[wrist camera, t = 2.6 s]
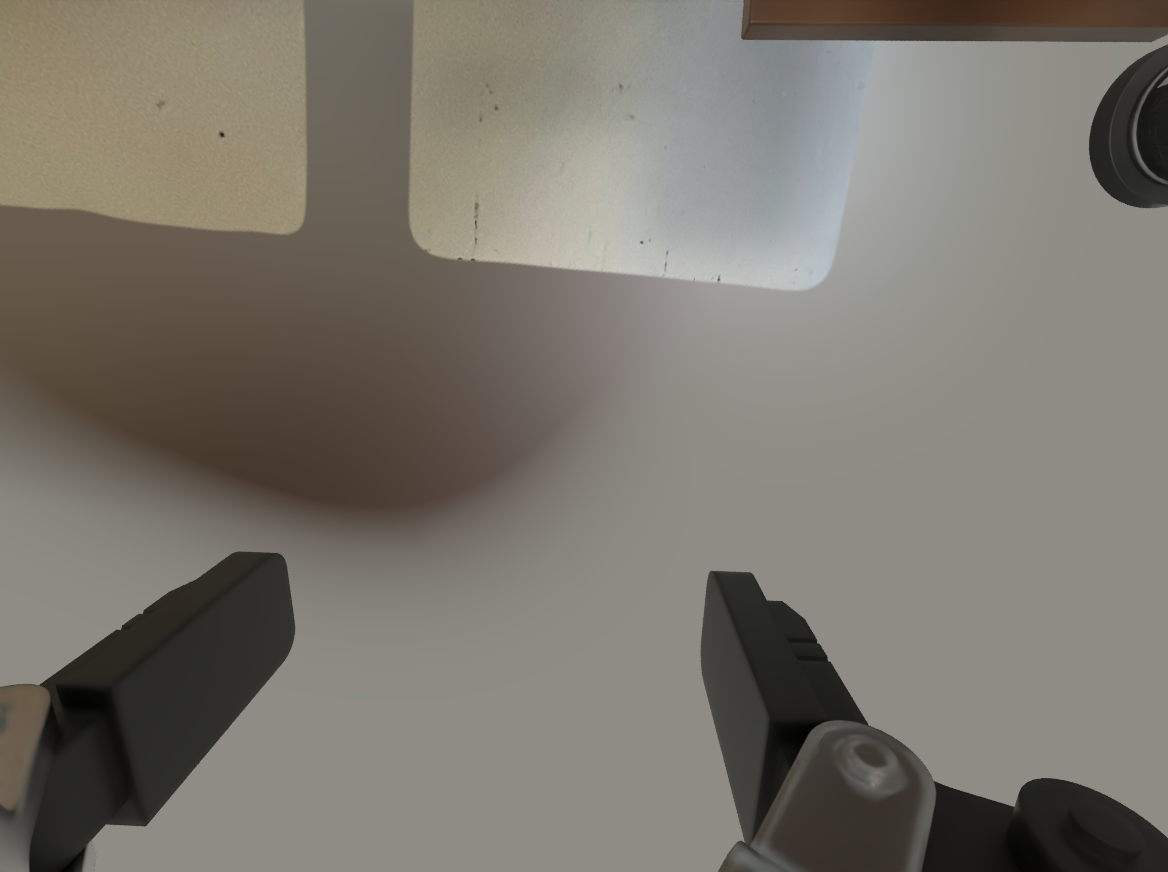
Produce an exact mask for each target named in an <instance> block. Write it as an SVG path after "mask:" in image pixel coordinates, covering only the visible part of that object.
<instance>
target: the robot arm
mask: <svg viewBox="0 0 1168 872" xmlns="http://www.w3.org/2000/svg"><path fill="white" fill-rule="evenodd" d="M1127 140H1128V148H1129V153H1130V156H1131V158H1132V161H1133V163H1134V165H1135V166H1136V168H1137V169H1138V170H1139V172H1140V173H1141V174H1142V175H1143V176H1145V177H1146V178H1147V179H1149V180H1150V181H1152V182H1154V183H1156V184H1159V185H1163V186H1168V65H1167V66H1166V67H1165V68H1163V69H1162V70H1161V71H1160V72H1158V73H1157V74H1156V75H1155V76H1154V77H1153V78H1152V79H1151V80H1150V82H1149V83H1148V84H1147V85H1146V87H1145V88H1144V89H1143V91H1142V92H1141V94H1140V96H1139V97H1138V99H1137V101H1136V103H1135V105H1134V108H1133V110H1132V113H1131V116H1130V120H1129V124H1128V134H1127ZM702 629H703V630H702V638H701V667H702V675H703V680H704V684H705V689H706V692H707V696H708V700H709V704H710V708H711V712H712V716H713V720H714V724H715V728H716V732H717V735H718V739H719V743H720V747H721V751H722V755H723V758H724V763H725V767H726V770H727V774H728V778H729V782H730V786H731V790H732V794H733V798H734V802H735V805H736V809H737V813H738V817H739V821H740V825H741V829H742V832H743V837H744V841H745V843H744V842H742V841H739V842H737V843H736V844H735V845H734V846H733V848H732V849H731V850H730V852H729V854H728V855H727V857H726V858H725V860H724V862H723V864H722V865H721V867H720V869H719V871H718V872H1168V838H1167V837H1166V836H1165V835H1164V834H1163V833H1161V832H1160V831H1159V830H1158V829H1157V828H1155V827H1154V826H1153V825H1152V824H1151V823H1149V822H1148V821H1147V820H1145V819H1144V818H1143V817H1141V816H1139V815H1138V814H1137V813H1135V812H1134V811H1132V810H1131V809H1129V808H1128V807H1126V806H1124V805H1123V804H1121V803H1119V802H1118V801H1116V800H1114V799H1112V798H1110V797H1108V796H1106V795H1104V794H1102V793H1100V792H1097V791H1095V790H1093V789H1090V788H1088V787H1085V786H1082V785H1079V784H1076V783H1073V782H1069V781H1065V780H1059V779H1052V778H1041V779H1035V780H1032V781H1029V782H1027V783H1026V784H1025V785H1024V786H1023V787H1022V788H1021V790H1020V792H1019V795H1018V798H1017V801H1016V804H1015V807H1013V806H1009V805H1006V804H1003V803H999V802H996V801H992V800H990V799H986V798H983V797H980V796H976V795H973V794H970V793H966V792H963V791H960V790H956V789H953V788H950V787H947V786H945V785H942V784H940V783H937V782H935V781H933V779H932V776H931V774H930V773H929V771H928V769H927V768H926V766H925V765H924V764H923V762H922V761H921V760H920V759H919V758H918V757H917V756H916V755H915V754H914V753H913V752H912V751H911V750H910V749H909V748H908V747H906V746H905V745H904V744H902V743H901V742H900V741H898V740H897V739H895V738H894V737H892V736H890V735H888V734H887V733H885V732H883V731H881V730H879V729H876V728H874V727H871V726H869V725H868V723H867V722H866V720H865V718H864V717H863V715H862V713H861V712H860V710H859V708H858V707H857V705H856V703H855V702H854V700H853V698H852V697H851V695H850V693H849V692H848V690H847V689H846V687H845V685H844V684H843V682H842V680H841V679H840V677H839V676H838V674H837V672H836V670H835V669H834V667H833V665H832V664H831V662H828V659H827V658H828V657H827V655H826V654H825V652H824V650H823V649H822V647H821V645H820V644H817V639H816V637H815V635H814V634H813V632H812V631H811V629H810V627H809V626H808V624H807V622H806V621H805V619H804V618H803V617H801V616H800V615H799V614H798V613H796V612H795V611H794V610H793V609H791V608H790V607H789V606H788V605H786V604H785V603H784V602H783V601H767V600H766V598H765V596H764V594H763V592H762V590H761V588H760V587H759V585H758V583H757V581H756V579H755V577H754V575H753V574H752V573H750V572H725V571H710V573H709V575H708V580H707V588H706V598H705V608H704V618H703V628H702ZM294 635H295V623H294V614H293V607H292V600H291V593H290V585H289V578H288V572H287V565H286V562H285V559H284V557H283V556H282V555H280V554H278V553H262V552H261V553H260V552H235V553H232V554H231V555H230V556H228V557H226V558H225V559H224V560H222V561H221V562H220V563H218V564H217V565H216V566H214V567H213V568H211V569H210V570H209V571H207V572H206V573H205V574H203V575H202V576H201V577H199V578H198V579H197V580H194V581H192V582H190V583H188V584H186V585H183V586H181V587H179V588H177V589H175V590H172V591H170V592H168V593H167V594H166V595H164V596H163V597H161V598H160V599H159V600H157V601H156V602H155V603H153V604H152V605H150V606H149V607H148V608H146V609H145V610H144V612H143V614H138V615H136V616H135V617H134V618H132V619H131V620H129V621H128V622H127V623H125V624H124V625H122V629H121V630H116V631H114V632H113V633H111V634H110V635H108V636H107V637H106V638H104V639H103V640H102V641H100V642H99V643H97V644H96V645H95V646H93V647H92V648H90V649H89V650H88V651H86V652H85V653H83V654H82V655H81V656H79V657H78V658H76V659H75V660H74V661H72V662H71V663H69V664H68V665H67V666H65V667H64V668H62V669H61V670H60V671H58V672H57V673H56V674H54V675H53V676H51V677H50V678H48V679H47V680H46V681H44V682H43V683H41V684H40V685H34V684H17V685H10V686H4V687H0V872H94V870H95V862H96V852H95V848H94V845H93V841H92V839H93V838H94V837H95V835H96V834H97V833H98V832H99V831H100V830H101V829H102V828H103V827H104V826H105V825H106V824H110V825H129V826H147V824H148V823H149V822H150V821H151V820H152V818H153V817H154V816H155V815H156V814H157V812H158V811H159V810H160V809H161V808H162V806H163V805H164V804H165V803H166V802H167V800H168V799H169V798H170V797H171V795H172V794H173V793H174V792H175V791H176V790H177V788H178V787H179V786H180V785H181V784H182V783H183V781H184V780H185V779H186V778H187V776H188V775H189V774H190V773H191V772H192V770H193V769H194V768H195V767H196V766H197V765H198V764H199V762H200V761H201V760H202V759H203V757H204V756H205V755H206V754H207V753H208V752H209V750H210V749H211V748H212V747H213V746H214V744H215V743H216V742H217V741H218V740H219V738H220V737H221V736H222V735H223V734H224V732H225V731H226V730H227V729H228V728H229V726H230V725H231V724H232V722H234V720H235V719H236V718H237V717H238V716H239V714H240V713H241V712H242V711H243V710H244V709H245V707H246V706H247V705H248V704H249V703H250V701H251V700H252V699H253V698H254V697H255V695H256V694H257V693H258V692H259V691H260V689H261V688H262V687H263V686H264V685H265V683H266V682H267V681H268V680H269V679H270V677H271V676H272V675H273V674H274V673H275V671H276V670H277V669H278V668H279V667H280V666H281V664H282V663H283V662H284V661H285V659H286V657H287V656H288V654H289V652H290V650H291V647H292V644H293V640H294Z"/></svg>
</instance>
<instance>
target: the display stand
mask: <svg viewBox="0 0 1168 872" xmlns="http://www.w3.org/2000/svg"><path fill="white" fill-rule="evenodd" d="M1167 34H1168V0H744V6H743V19H742V32H741V38H742V39H743V40H887V41H888V40H890V41H893V40H894V41H898V40H899V41H1065V42H1067V41H1068V42H1071V41H1072V42H1075V41H1076V42H1078V41H1079V42H1152V41H1155V40H1157V39H1159V38H1161V37H1163V36H1165V35H1167Z"/></svg>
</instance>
